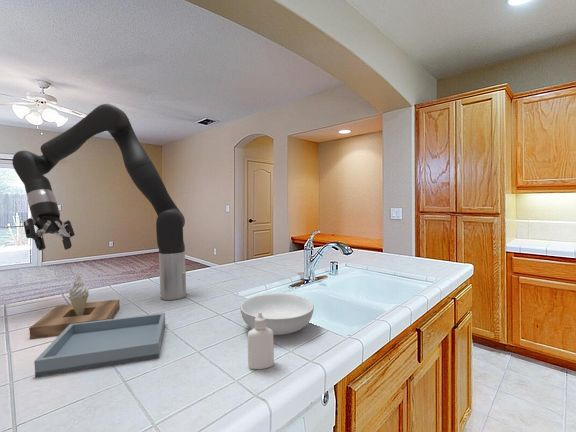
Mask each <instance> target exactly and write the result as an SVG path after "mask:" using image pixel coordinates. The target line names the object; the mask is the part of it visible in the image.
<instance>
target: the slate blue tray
mask: <svg viewBox="0 0 576 432" xmlns="http://www.w3.org/2000/svg"><path fill="white" fill-rule="evenodd" d="M165 327H166V313H165V312H162V313H161V312H160V313H152V314H145V315H144V314H143V315H136V316H135V315H134V316H126V317H120V318H119V317H118V318H113V319H108V320H100V321H91V322H83V323H74V324H70V325H69V326H68V327H67V328H66V329H65V330H64V331H63V332H62V333H61V334H60V335H57V336H56V338H55V339H54V340H53V341H52V342H51V343H50V344H49V345H48V346H47V348H45V350H43V352H41V353H40V354H39V356H38V357H36V359H35V360H34V362H33V363H34V376H35V377H34V378H38V377H39V378H40V377H45V376H52V375H57V374H64V373H70V372H71V373H72V372H76V371H83V370H89V369H95V368H104V367H108V366H116V365H121V364H127V363H133V362H139V361H140V362H141V361H148V360H152V359H159V358H160V354H161V347H162V343H163V340H164V339H163V338H164V333H165Z"/></svg>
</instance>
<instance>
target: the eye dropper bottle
mask: <svg viewBox="0 0 576 432" xmlns="http://www.w3.org/2000/svg"><path fill="white" fill-rule="evenodd" d="M274 345H275V344H274V335H273V332H272V330H271V329H270V328H267V327H266V318H265V317H263V316H262V312H259V313H258V317H256V318H255V328H254V329H252V328H251V329H250V330H249V331H248V332H247V366H248V368H249V369H250V370H263V369H264V370H265V369H269V368H271V367H273V366H274V364H275V362H274V361H275V357H274V356H275V355H274V353H275V352H274V350H275V349H274Z"/></svg>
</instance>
